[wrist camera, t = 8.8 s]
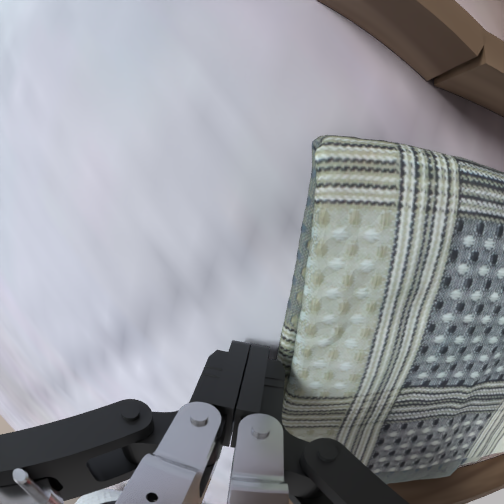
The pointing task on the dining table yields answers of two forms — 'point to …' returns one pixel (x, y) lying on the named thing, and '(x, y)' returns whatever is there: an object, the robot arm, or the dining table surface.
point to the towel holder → (469, 87)
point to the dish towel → (398, 309)
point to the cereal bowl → (99, 496)
